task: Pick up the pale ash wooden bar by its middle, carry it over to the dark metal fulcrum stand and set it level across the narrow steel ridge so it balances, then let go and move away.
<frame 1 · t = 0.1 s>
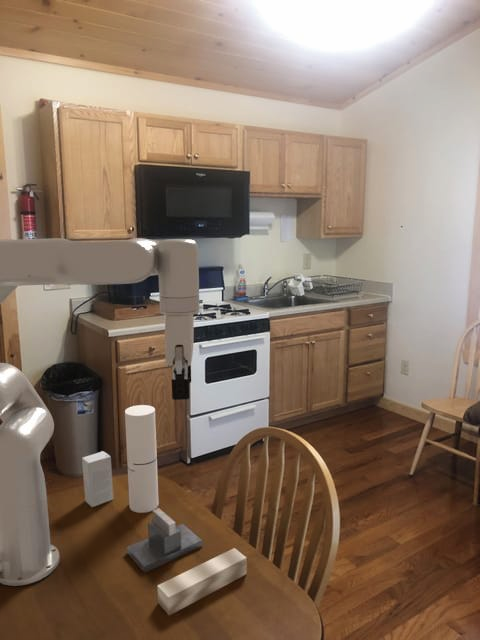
hand: (182, 390, 103), 37 cm above the table, tool pointing down, fingers open, 9 cm apart
cylindrical container: (144, 505, 131), on the table
ash bar: (204, 589, 101), on the table
fulcrum stand: (164, 549, 113), on the table
skincare box: (99, 501, 133), on the table
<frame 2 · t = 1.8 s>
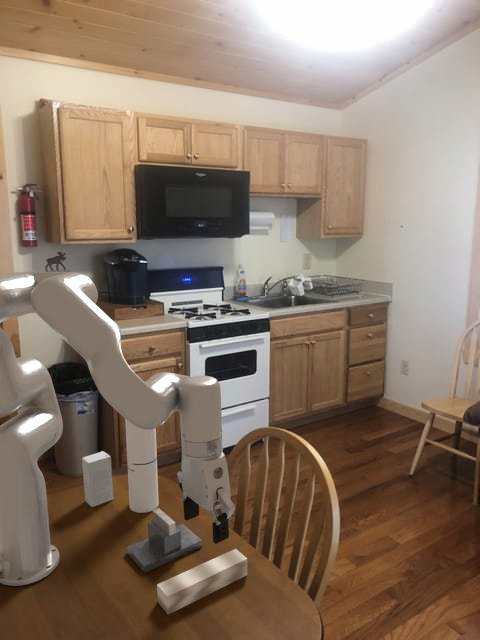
hand: (205, 528, 99), 13 cm above the table, tool pointing down, fingers open, 9 cm apart
nothing on the table moved.
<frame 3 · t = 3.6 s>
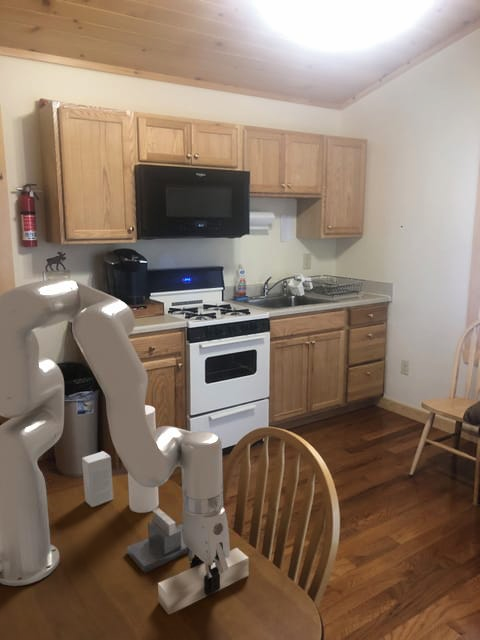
hand: (205, 583, 101), 1 cm above the table, tool pointing down, fingers closed on ash bar, 4 cm apart
ash bar: (205, 588, 101), on the table, touching gripper
everything else where it was.
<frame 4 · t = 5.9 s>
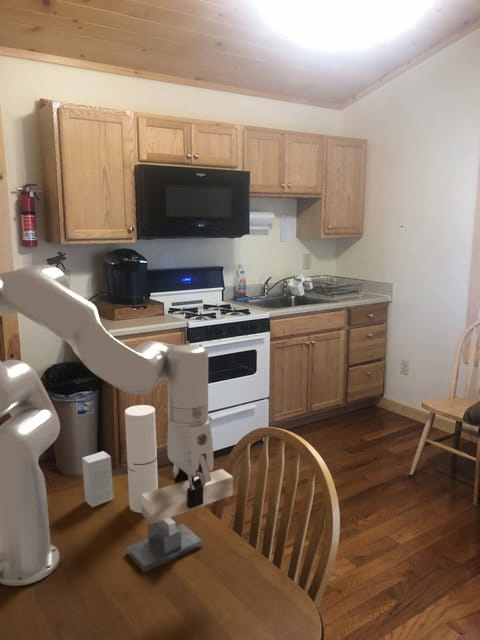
hand: (188, 499, 101), 17 cm above the table, tool pointing down, fingers closed on ash bar, 4 cm apart
ash bar: (188, 504, 101), point 16 cm above the table, touching gripper
everything else where it was.
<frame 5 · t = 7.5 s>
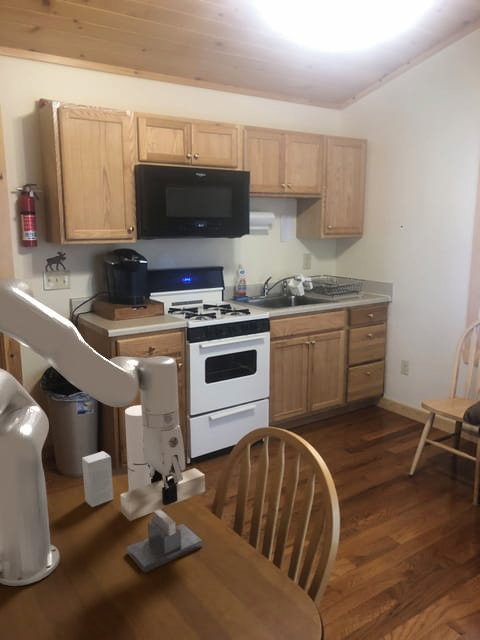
hand: (164, 497, 110), 12 cm above the table, tool pointing down, fingers closed on ash bar, 4 cm apart
ash bar: (164, 501, 111), point 11 cm above the table, touching gripper
everything else where it was.
when the fingers open (9 cm above the table, at t = 8.7 s): ash bar stays where it is, resting on fulcrum stand.
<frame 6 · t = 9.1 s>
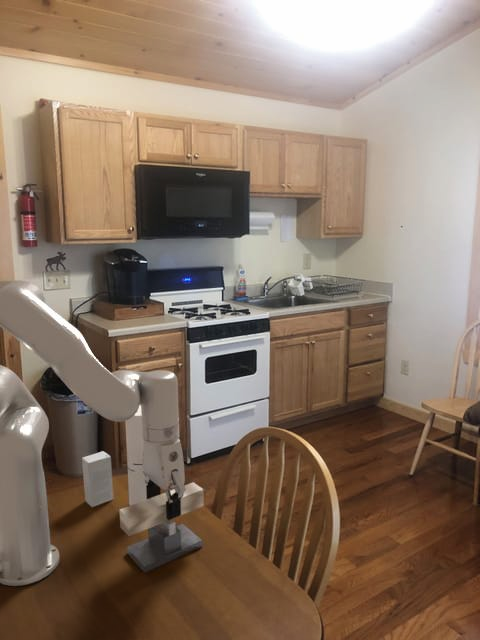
hand: (163, 508, 111), 10 cm above the table, tool pointing down, fingers open, 7 cm apart
ash bar: (163, 516, 111), point 8 cm above the table, touching fulcrum stand
everything else where it was.
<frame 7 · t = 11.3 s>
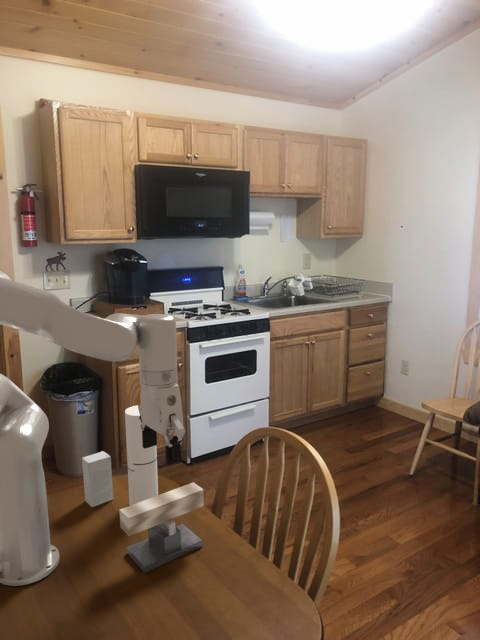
hand: (161, 454, 108), 22 cm above the table, tool pointing down, fingers open, 9 cm apart
nothing on the table moved.
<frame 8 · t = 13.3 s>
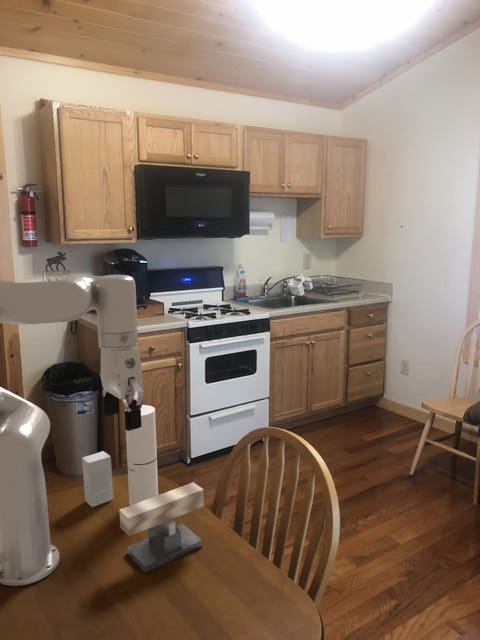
hand: (122, 421, 105), 30 cm above the table, tool pointing down, fingers open, 9 cm apart
nothing on the table moved.
at the end: ash bar 0.1 cm off-centre on the fulcrum stand, point 8.0 cm above the fulcrum stand's base; ash bar tilted 0°; ash bar touching fulcrum stand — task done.
